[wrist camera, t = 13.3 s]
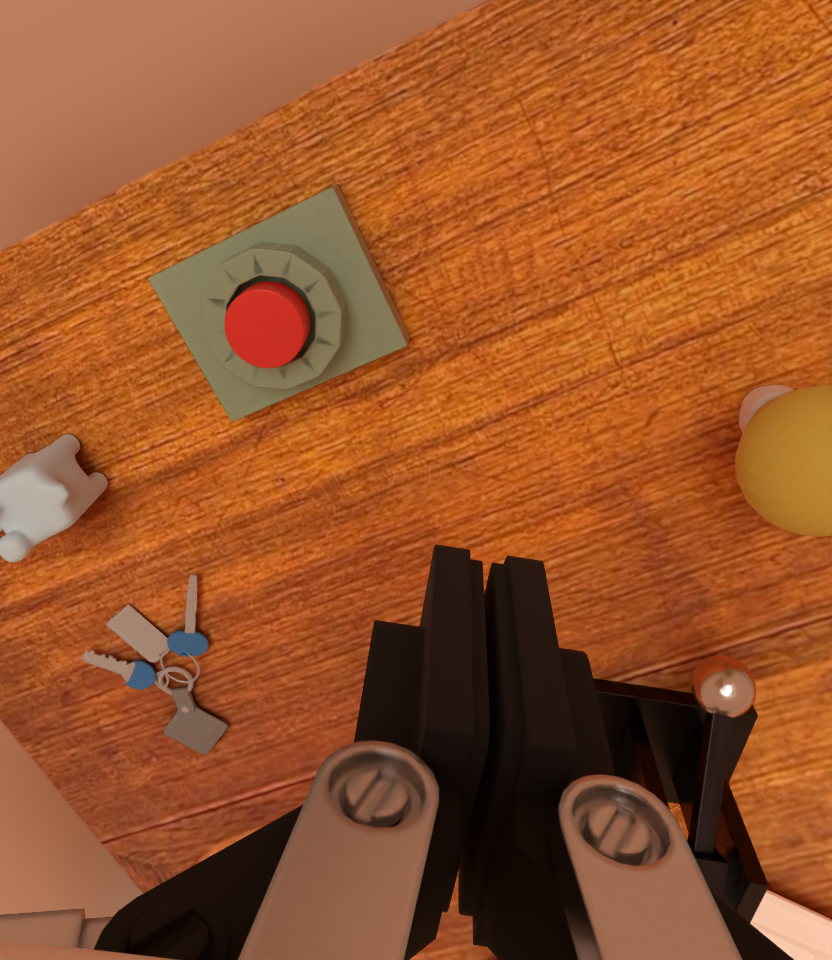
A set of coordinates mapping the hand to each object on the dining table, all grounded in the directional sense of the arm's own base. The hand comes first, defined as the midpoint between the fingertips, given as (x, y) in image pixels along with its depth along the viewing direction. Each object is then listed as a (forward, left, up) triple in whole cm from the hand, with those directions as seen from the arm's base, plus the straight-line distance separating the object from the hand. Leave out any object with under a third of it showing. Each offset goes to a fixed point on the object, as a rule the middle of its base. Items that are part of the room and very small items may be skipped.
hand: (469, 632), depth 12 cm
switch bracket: (+27, +17, -29) cm, 43 cm away
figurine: (+15, -21, -29) cm, 39 cm away
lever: (+23, +17, -23) cm, 37 cm away
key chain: (+27, -15, -29) cm, 42 cm away
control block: (+3, -8, -29) cm, 30 cm away
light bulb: (+4, +16, -29) cm, 34 cm away
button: (+3, -9, -26) cm, 28 cm away
